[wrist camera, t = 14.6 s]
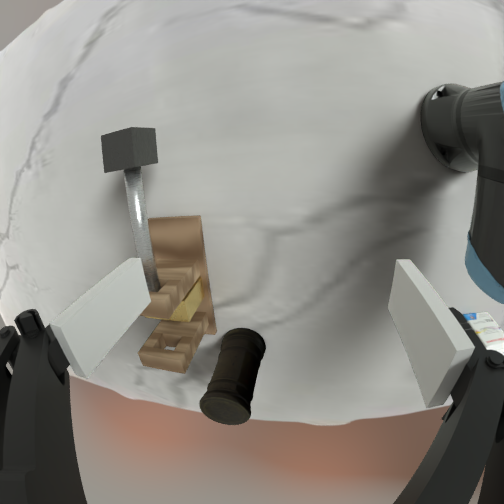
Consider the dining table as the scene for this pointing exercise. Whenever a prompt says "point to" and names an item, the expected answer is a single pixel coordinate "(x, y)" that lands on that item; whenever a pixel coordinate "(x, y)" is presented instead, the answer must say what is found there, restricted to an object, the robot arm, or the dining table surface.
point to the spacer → (188, 303)
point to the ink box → (487, 330)
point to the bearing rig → (177, 293)
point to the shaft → (135, 187)
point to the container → (234, 378)
